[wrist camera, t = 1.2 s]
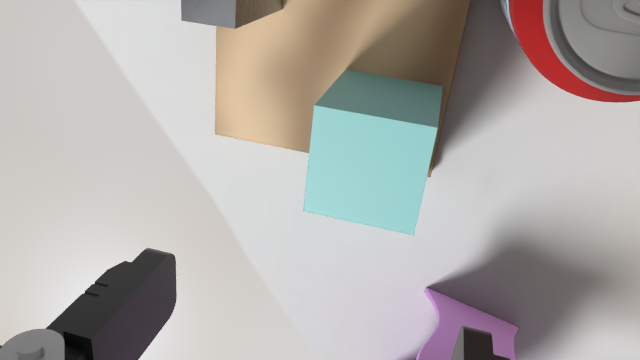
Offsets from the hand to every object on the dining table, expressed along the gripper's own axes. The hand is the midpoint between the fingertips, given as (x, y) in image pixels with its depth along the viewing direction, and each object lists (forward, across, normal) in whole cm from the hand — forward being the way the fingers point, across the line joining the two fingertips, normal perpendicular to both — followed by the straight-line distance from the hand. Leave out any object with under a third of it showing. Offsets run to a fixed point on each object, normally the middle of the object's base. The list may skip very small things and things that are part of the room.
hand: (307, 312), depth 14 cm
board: (+17, +3, -3) cm, 18 cm away
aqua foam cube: (+16, 0, 0) cm, 16 cm away
